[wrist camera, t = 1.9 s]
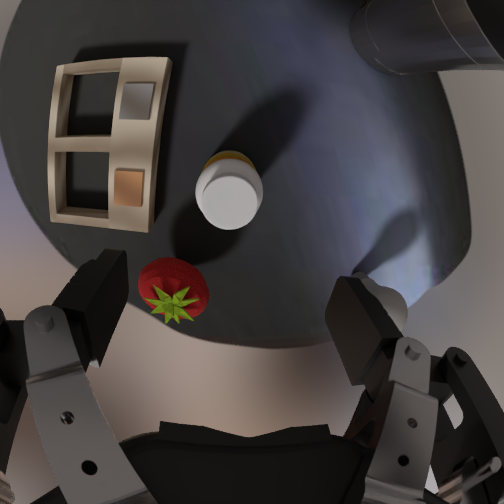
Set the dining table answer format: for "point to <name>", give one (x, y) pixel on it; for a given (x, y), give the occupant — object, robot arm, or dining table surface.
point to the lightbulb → (387, 299)
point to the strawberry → (173, 288)
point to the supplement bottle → (229, 190)
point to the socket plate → (113, 142)
